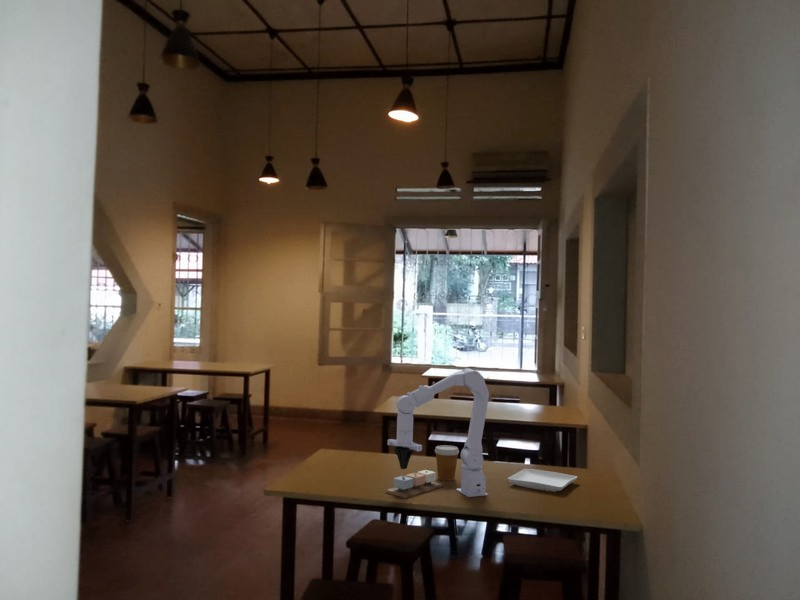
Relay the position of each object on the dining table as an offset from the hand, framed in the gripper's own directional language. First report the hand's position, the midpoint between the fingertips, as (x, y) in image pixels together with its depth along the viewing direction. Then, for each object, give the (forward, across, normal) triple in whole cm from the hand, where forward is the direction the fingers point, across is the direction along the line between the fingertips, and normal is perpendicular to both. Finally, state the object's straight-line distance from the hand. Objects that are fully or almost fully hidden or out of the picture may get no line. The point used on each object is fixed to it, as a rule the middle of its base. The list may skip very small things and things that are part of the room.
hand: (403, 468), depth 223 cm
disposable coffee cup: (+9, -2, +28) cm, 29 cm away
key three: (+6, 0, 0) cm, 6 cm away
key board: (+9, 0, +6) cm, 11 cm away
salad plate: (+9, +29, +48) cm, 57 cm away
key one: (+6, 0, +13) cm, 14 cm away
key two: (+6, 0, +6) cm, 9 cm away
